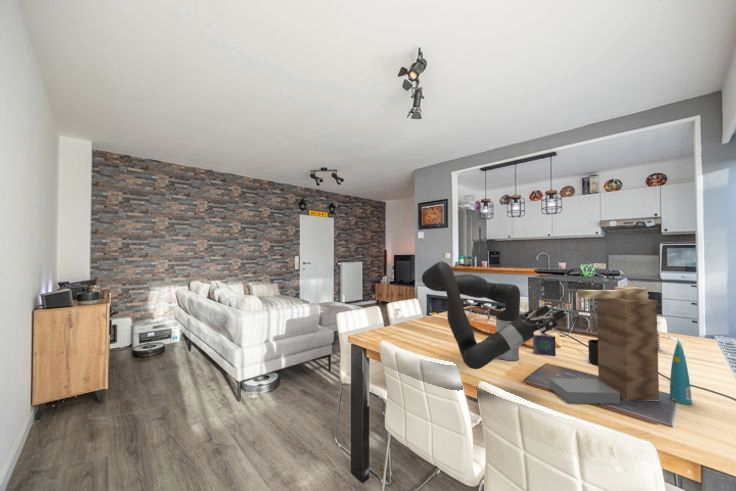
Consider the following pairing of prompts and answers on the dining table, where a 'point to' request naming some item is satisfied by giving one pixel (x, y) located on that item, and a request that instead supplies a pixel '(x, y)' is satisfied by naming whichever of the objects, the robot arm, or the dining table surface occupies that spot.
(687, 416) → the dining table surface
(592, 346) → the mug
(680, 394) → the tube
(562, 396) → the board
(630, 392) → the stand
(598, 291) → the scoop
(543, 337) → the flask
